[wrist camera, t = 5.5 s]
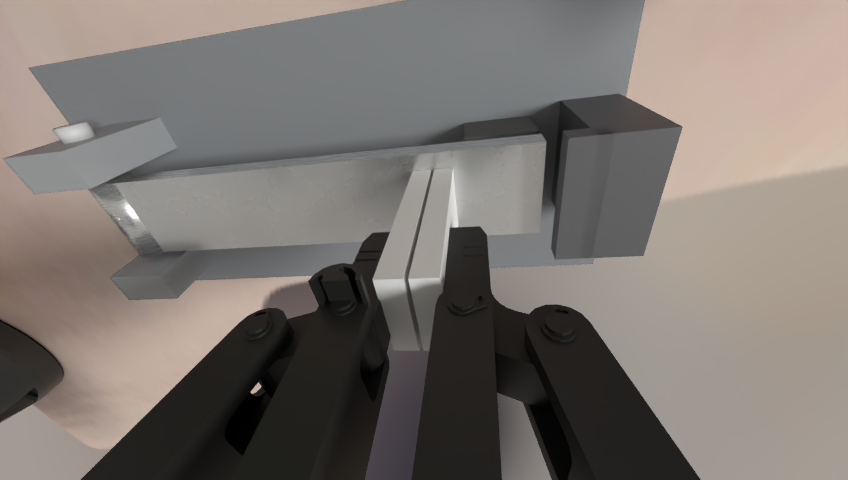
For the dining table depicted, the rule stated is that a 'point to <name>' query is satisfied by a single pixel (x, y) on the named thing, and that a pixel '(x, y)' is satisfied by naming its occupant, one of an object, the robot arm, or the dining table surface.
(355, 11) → the latch base
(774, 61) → the dining table surface
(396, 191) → the grey long flat bar
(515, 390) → the robot arm
